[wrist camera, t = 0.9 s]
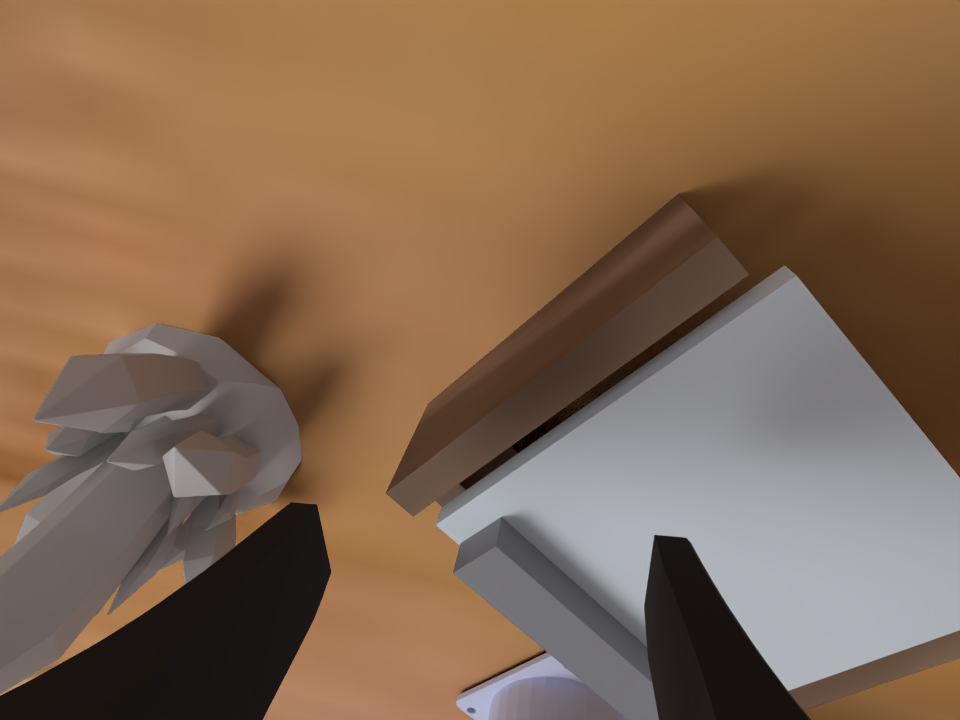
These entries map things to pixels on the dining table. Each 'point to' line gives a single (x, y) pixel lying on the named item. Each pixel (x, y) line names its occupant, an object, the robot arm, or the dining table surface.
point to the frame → (583, 364)
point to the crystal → (136, 482)
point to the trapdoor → (726, 505)
